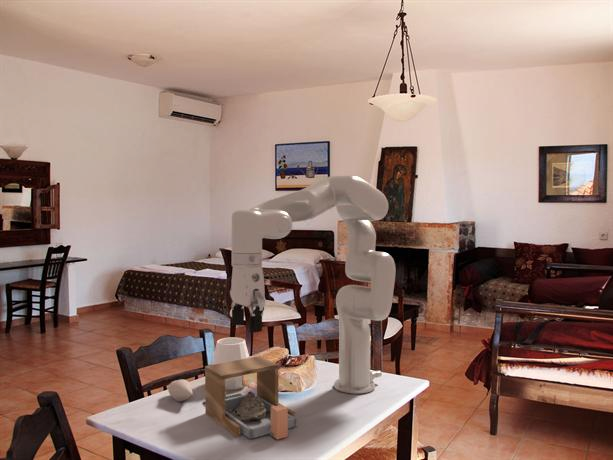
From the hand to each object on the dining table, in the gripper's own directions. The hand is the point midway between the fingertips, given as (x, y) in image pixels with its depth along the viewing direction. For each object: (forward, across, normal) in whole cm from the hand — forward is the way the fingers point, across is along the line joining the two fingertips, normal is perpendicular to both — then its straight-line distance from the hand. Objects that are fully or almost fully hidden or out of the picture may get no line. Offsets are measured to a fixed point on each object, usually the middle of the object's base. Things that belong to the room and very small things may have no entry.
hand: (246, 328), depth 138 cm
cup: (+26, +33, -11) cm, 43 cm away
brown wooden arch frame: (+26, +10, -4) cm, 28 cm away
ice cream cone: (+26, +27, +6) cm, 38 cm away
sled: (+25, +2, -4) cm, 26 cm away
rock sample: (+26, +6, -4) cm, 27 cm away
